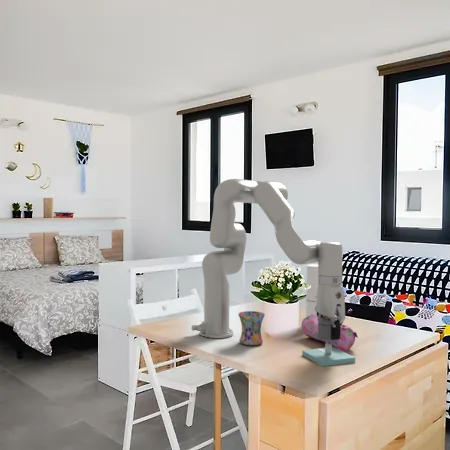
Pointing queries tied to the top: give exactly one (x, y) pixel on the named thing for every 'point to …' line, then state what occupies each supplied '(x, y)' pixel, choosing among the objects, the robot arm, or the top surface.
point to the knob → (325, 328)
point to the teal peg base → (328, 355)
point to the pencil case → (342, 344)
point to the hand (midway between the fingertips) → (329, 335)
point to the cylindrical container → (311, 289)
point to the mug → (251, 327)
